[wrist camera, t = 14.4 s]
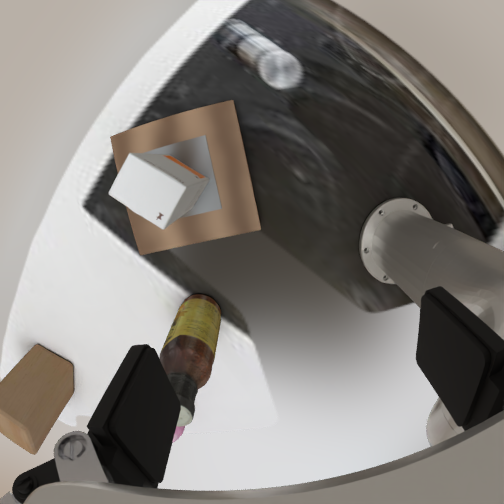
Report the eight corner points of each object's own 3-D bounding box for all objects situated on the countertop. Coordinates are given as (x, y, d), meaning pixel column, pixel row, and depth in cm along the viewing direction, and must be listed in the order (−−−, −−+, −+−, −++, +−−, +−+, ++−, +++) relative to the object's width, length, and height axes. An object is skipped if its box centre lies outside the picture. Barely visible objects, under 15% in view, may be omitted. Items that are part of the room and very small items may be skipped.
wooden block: (39, 372, 49) (-5, 430, 30) (36, 340, 46) (-18, 399, 27) (75, 393, 50) (35, 458, 31) (74, 362, 47) (25, 432, 28)
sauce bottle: (178, 291, 42) (131, 383, 23) (221, 292, 42) (199, 391, 23) (183, 329, 44) (146, 428, 25) (223, 331, 44) (206, 435, 25)
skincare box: (211, 178, 34) (189, 188, 23) (192, 208, 35) (163, 232, 24) (168, 152, 33) (128, 151, 22) (151, 183, 34) (106, 195, 23)
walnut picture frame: (234, 104, 34) (232, 99, 31) (260, 224, 39) (261, 230, 36) (119, 137, 35) (109, 136, 32) (147, 248, 40) (139, 255, 37)
